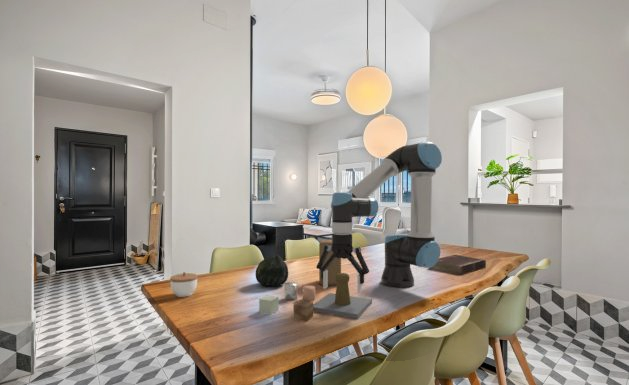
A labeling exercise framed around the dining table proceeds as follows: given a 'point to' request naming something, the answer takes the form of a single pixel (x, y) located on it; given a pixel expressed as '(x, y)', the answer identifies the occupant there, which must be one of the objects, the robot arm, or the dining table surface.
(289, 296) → the metal tin
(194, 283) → the lidded jar
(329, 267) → the wooden block
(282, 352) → the dining table surface
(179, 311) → the dining table surface
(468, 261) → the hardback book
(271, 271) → the squash
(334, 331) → the dining table surface
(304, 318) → the walnut block
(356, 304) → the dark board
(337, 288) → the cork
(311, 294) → the peach rounded capsule
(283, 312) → the dining table surface
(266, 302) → the sage block
